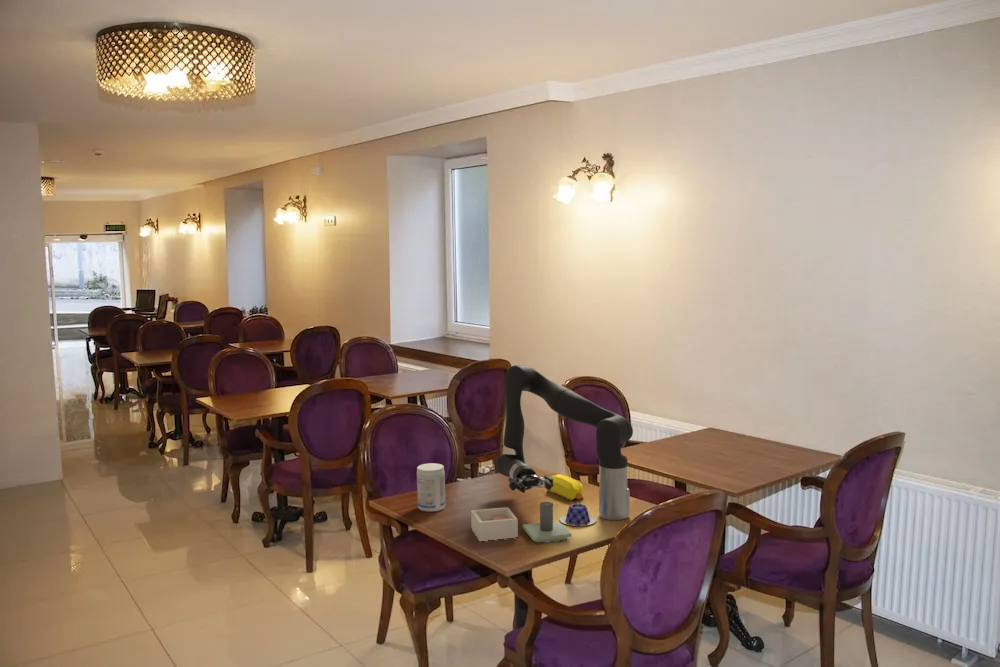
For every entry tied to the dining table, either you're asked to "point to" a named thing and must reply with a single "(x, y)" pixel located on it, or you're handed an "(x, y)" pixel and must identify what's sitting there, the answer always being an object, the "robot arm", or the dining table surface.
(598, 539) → the dining table surface
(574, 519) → the pudding
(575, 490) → the yellow rounded loaf
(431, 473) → the supplement tub
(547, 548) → the dining table surface
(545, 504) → the lid
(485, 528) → the storage box
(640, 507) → the dining table surface
